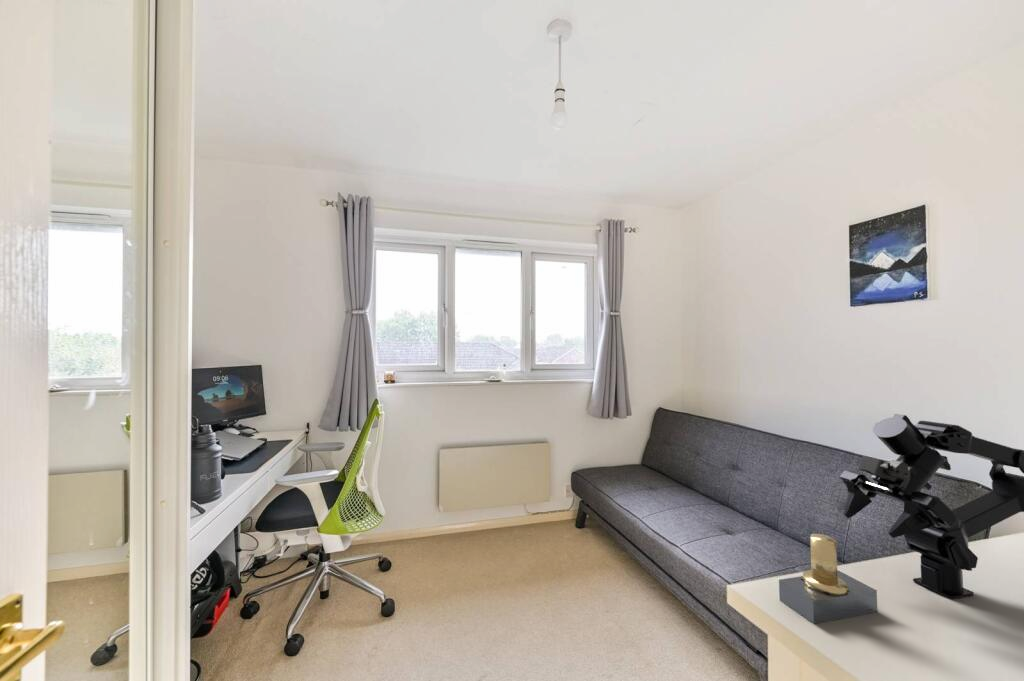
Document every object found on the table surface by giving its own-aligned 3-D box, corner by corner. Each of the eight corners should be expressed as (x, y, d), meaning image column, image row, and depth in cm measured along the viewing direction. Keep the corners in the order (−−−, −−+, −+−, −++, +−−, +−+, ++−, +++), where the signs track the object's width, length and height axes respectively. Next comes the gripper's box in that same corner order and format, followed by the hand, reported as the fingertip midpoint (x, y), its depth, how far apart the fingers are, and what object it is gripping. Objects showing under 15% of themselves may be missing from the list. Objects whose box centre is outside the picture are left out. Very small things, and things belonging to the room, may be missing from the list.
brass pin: (831, 596, 78) (828, 530, 79) (858, 618, 72) (855, 547, 72) (795, 594, 79) (793, 529, 80) (819, 617, 72) (816, 545, 73)
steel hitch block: (839, 590, 80) (838, 570, 81) (877, 611, 74) (876, 590, 74) (779, 600, 77) (778, 579, 77) (813, 623, 70) (812, 601, 71)
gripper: (844, 434, 91) (802, 484, 89) (938, 454, 72) (887, 517, 71) (877, 467, 91) (836, 517, 90) (979, 495, 72) (929, 559, 71)
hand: (867, 525), depth 80 cm, fingers open, 9 cm apart
